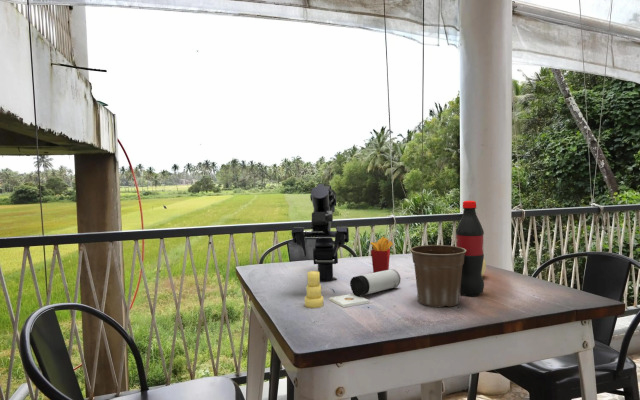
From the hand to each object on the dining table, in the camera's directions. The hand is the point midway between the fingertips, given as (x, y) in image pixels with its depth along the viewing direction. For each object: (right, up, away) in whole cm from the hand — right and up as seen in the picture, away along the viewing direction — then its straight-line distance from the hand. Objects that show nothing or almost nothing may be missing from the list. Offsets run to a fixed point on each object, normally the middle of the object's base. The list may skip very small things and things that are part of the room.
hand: (319, 256), depth 133 cm
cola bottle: (+49, -12, +2) cm, 50 cm away
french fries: (+26, -12, +33) cm, 43 cm away
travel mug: (+26, -9, +12) cm, 30 cm away
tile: (+9, -13, -4) cm, 17 cm away
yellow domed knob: (-2, -14, -7) cm, 16 cm away
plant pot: (+36, -13, -7) cm, 39 cm away
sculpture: (+56, -11, +24) cm, 62 cm away
